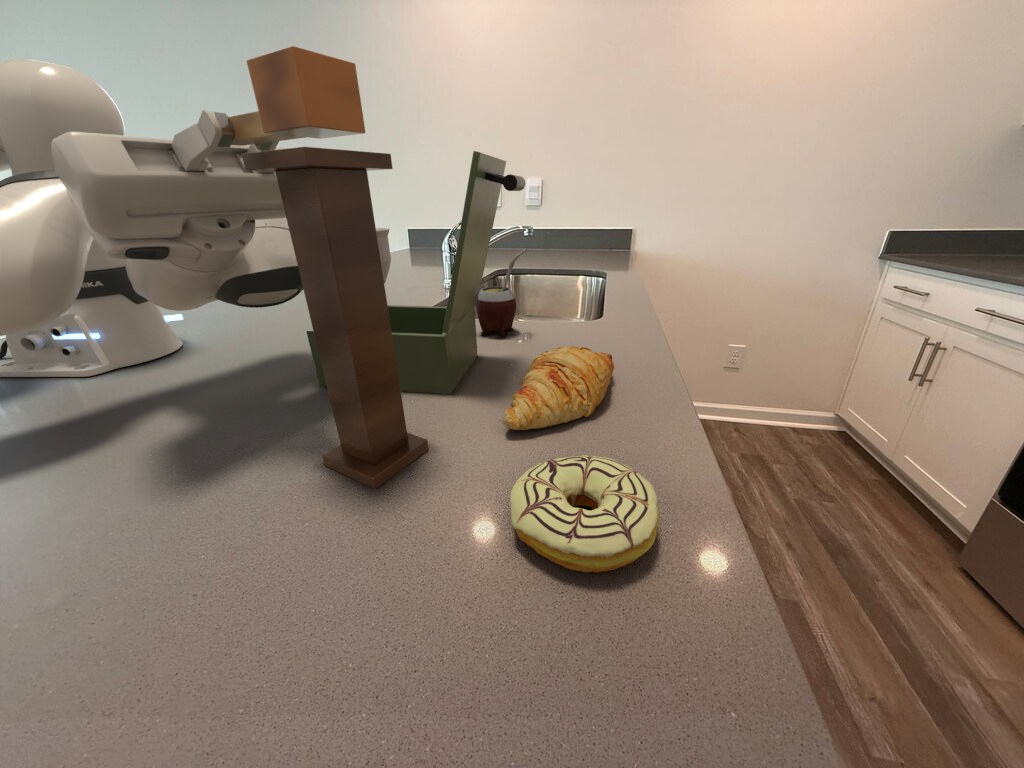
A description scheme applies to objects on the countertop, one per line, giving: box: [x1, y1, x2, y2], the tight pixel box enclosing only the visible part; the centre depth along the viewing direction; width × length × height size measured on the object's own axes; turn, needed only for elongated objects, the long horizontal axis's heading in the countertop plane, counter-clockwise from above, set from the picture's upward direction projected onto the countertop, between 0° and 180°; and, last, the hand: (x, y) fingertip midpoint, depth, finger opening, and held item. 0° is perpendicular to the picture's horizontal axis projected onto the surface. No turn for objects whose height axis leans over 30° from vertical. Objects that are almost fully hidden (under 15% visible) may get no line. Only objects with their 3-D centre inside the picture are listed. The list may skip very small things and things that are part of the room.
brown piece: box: [228, 45, 366, 146], centre depth 29 cm, size 14×4×4 cm, turn 59°
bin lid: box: [443, 150, 526, 334], centre depth 50 cm, size 19×14×4 cm
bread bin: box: [306, 304, 478, 395], centre depth 58 cm, size 19×14×8 cm
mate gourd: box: [475, 247, 528, 339], centre depth 71 cm, size 8×8×15 cm
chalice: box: [376, 227, 392, 284], centre depth 72 cm, size 7×7×18 cm
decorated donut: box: [509, 454, 660, 574], centre depth 30 cm, size 10×11×4 cm
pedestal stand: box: [242, 146, 430, 490], centre depth 34 cm, size 7×7×26 cm
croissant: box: [503, 345, 615, 431], centre depth 48 cm, size 21×10×8 cm, turn 141°
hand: (244, 123), depth 32 cm, fingers closed on brown piece, 2 cm apart
